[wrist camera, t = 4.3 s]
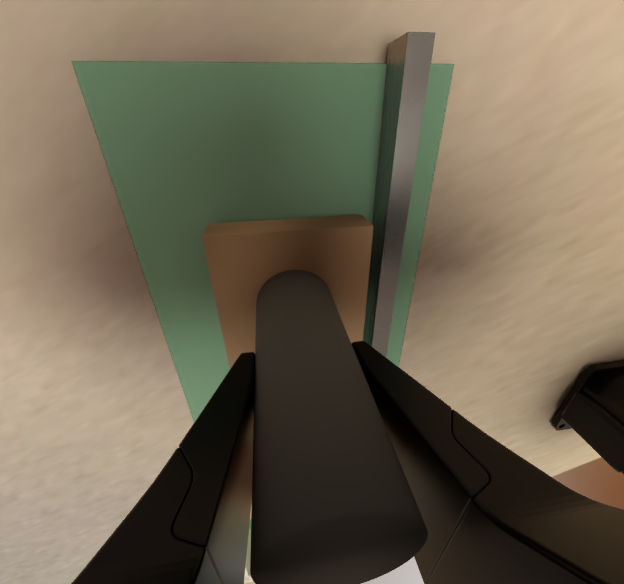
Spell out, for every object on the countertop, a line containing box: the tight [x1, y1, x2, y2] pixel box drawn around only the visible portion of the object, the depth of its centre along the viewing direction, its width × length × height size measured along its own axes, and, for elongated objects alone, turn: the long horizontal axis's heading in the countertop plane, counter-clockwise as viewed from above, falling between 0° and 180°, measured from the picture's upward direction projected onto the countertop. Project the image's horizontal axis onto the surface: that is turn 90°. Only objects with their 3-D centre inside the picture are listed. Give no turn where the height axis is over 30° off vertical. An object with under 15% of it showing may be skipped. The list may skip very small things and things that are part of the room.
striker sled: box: [202, 215, 428, 584], centre depth 11 cm, size 6×14×10 cm, turn 1°
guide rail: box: [363, 32, 435, 357], centre depth 15 cm, size 1×24×2 cm, turn 2°
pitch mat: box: [72, 61, 454, 528], centre depth 17 cm, size 12×32×1 cm, turn 1°
